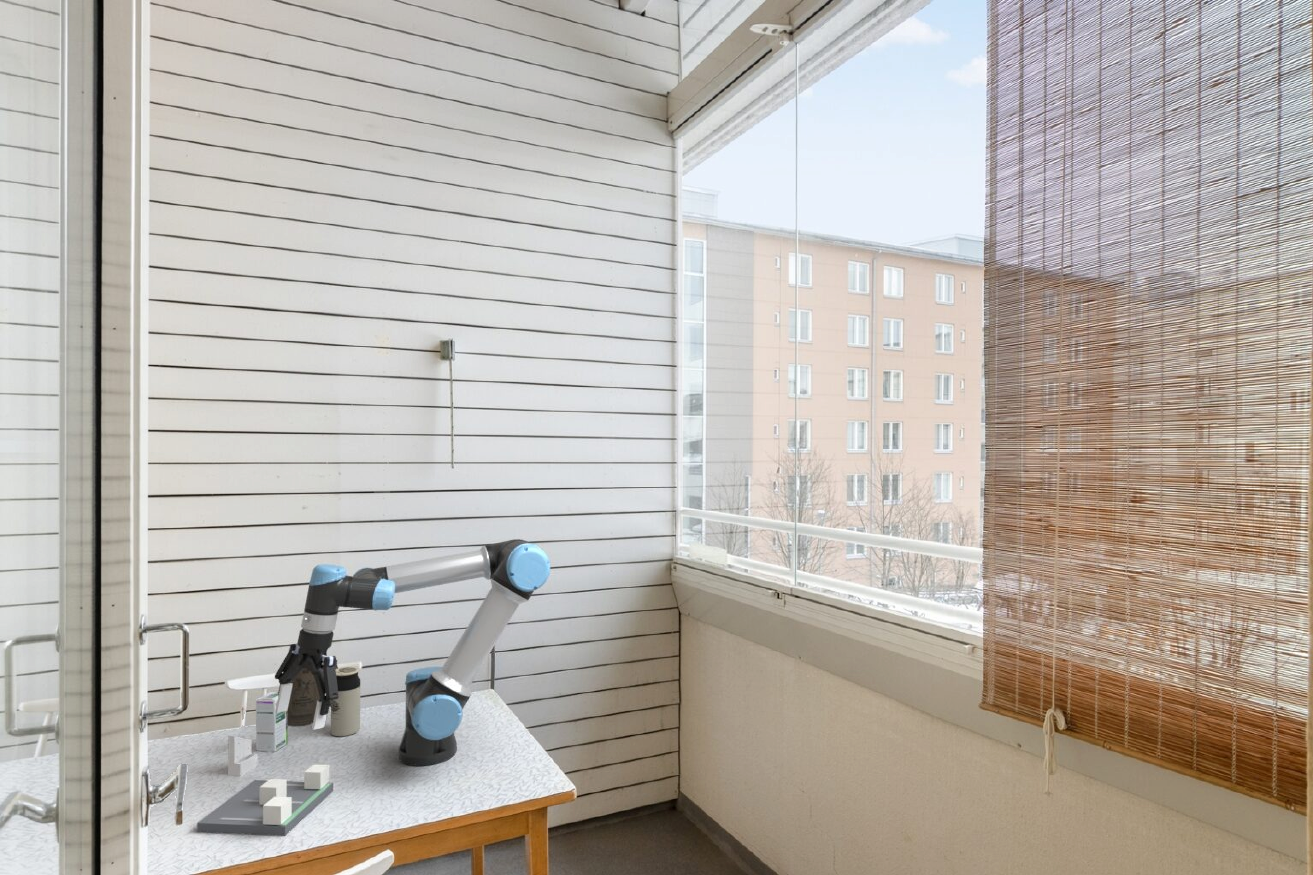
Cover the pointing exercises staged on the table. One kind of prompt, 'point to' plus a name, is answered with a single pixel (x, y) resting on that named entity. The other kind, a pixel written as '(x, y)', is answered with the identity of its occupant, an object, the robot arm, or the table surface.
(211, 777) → the table surface
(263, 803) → the white cubic block
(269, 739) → the syrup box
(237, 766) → the white wedge bracket
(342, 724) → the travel mug
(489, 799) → the table surface
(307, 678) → the beer stein
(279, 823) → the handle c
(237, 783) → the table surface
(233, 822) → the grey striped board
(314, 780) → the white cubic piece
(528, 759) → the table surface
